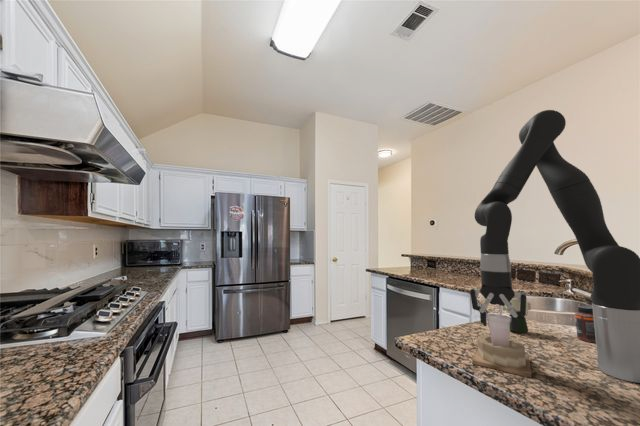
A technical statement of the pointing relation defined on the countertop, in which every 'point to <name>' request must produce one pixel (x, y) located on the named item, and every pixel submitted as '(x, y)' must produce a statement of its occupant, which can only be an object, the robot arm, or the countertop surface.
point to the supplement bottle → (585, 324)
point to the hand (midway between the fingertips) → (499, 327)
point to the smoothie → (499, 328)
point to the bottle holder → (502, 356)
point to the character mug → (521, 320)
